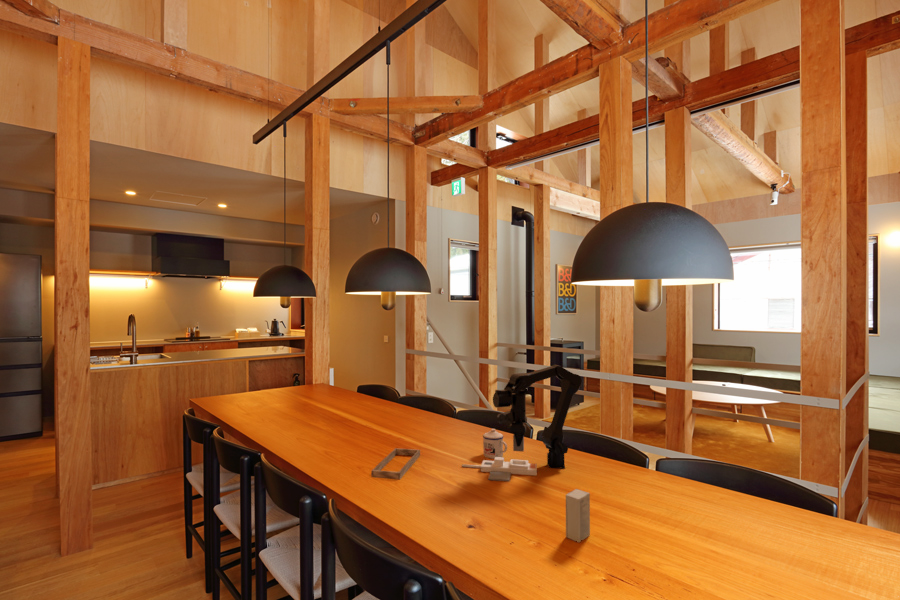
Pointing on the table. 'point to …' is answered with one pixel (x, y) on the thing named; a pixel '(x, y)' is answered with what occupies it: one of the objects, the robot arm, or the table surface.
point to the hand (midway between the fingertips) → (518, 444)
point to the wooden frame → (396, 451)
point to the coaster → (499, 476)
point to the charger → (518, 448)
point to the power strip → (507, 466)
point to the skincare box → (577, 515)
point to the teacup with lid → (493, 444)
